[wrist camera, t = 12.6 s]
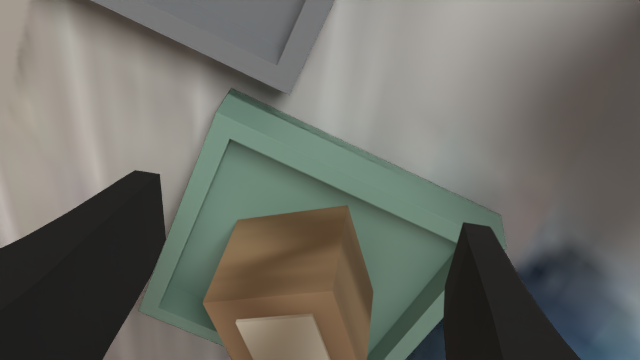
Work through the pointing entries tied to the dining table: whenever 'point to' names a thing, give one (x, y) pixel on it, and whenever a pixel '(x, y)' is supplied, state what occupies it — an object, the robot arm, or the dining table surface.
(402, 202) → the green tray
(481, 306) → the robot arm
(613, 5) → the dining table surface
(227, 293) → the brown cardboard box
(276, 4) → the charcoal tray
